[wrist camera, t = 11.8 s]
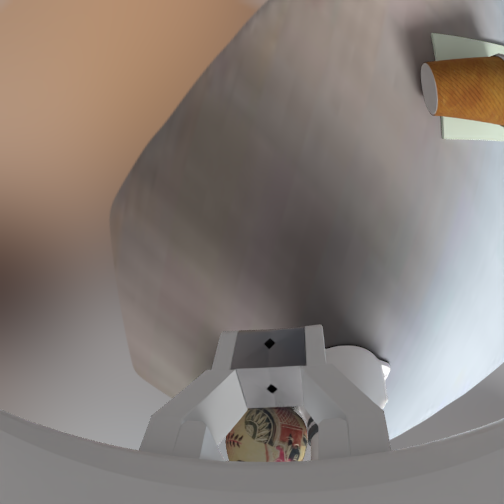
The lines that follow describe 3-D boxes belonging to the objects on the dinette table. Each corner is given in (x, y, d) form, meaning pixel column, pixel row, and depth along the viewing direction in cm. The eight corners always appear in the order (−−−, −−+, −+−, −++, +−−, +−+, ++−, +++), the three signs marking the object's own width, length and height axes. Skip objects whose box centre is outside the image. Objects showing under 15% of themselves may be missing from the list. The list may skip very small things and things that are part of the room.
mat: (525, 142, 31) (527, 143, 30) (442, 138, 33) (444, 139, 33) (518, 51, 24) (521, 50, 24) (430, 33, 27) (432, 32, 26)
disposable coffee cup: (429, 138, 33) (507, 137, 29) (448, 114, 24) (540, 118, 20) (412, 70, 32) (488, 72, 28) (423, 33, 23) (513, 41, 19)
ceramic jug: (323, 409, 58) (323, 546, 32) (267, 432, 64) (253, 551, 38) (266, 369, 54) (246, 532, 27) (211, 398, 60) (177, 531, 33)
